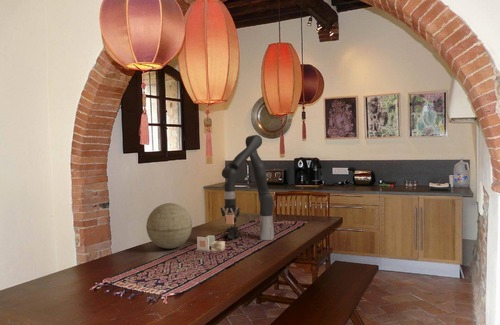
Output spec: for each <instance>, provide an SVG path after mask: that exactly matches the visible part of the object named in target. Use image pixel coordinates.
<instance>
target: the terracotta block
mask: <svg viewBox="0 0 500 325" xmlns="http://www.w3.org/2000/svg"><path fill="white" fill-rule="evenodd" d="M225 224H226V225H233V224H235V223H234V215H233V214H232V213H229V214H227V215H226V222H225Z"/></svg>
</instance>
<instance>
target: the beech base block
mask: <svg viewBox="0 0 500 325" xmlns="http://www.w3.org/2000/svg"><path fill="white" fill-rule="evenodd" d="M210 247H211V248H210V250H211V251H210V252H221V251H222V252H223V251H224V250H225V249H226V241H224V240H223V241H221V240H215V241H214V242H213V243H211V246H210Z"/></svg>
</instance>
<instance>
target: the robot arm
mask: <svg viewBox="0 0 500 325" xmlns="http://www.w3.org/2000/svg"><path fill="white" fill-rule="evenodd" d="M244 141H245V142H244V143H245V146H246V147H245V148H244V149H243V150H242V151H241V152H239V153H238V154H237V155H236V156H235V157H234V158H233V159H232V161H231V162H230V163H228V164H227V165H226V166H225V167H224V168H223V169H222V170H221V176H222V178H224V179H227V181H226V182H225V183H224V185H223V187H224V193H223V194H224V195H223V198H224V206H223V207H220V212H221V216H222V217H224V221H225V223H226V215H227V214H233V215H234V223H237V220H238V219H237V218H238V217H239V216H240V213H241V207H237V202H236V199H237V198H236V186H235V185H236V183H237V182H236V181H237V176H238V175H237V173H238V172H237V171H238V170H239V169H241V167H242V166H243V165H244V164H245V162H246V161H247V160H248V159H249V160H250V163H251V168H252V173H253V176H254V177H253V178H254V181H255V184H256V187H257V193H258V194H257V195H258V201H259V204H260V205H259V206H260V207H259V208H260V211H259V240H261V241H272V240H273V239H274V238H275V237H274V236H275V232H274V231H275V230H274V226H275V225H274V223H273V222H274V220H273V219H274V218H273V217H274V216H273V215H274V214H273V213H274V197H273V196H272V194H270V190H269V188H268V175H267V169H266V166H265V163H264V161H263V159H262V158H261V157H260V155H259V153H258V149H259V148H260V147H261V146H262V144H263V138H262V137H261V136H260V135H258V134H254V135H249V136H246V138H245V140H244Z"/></svg>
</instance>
